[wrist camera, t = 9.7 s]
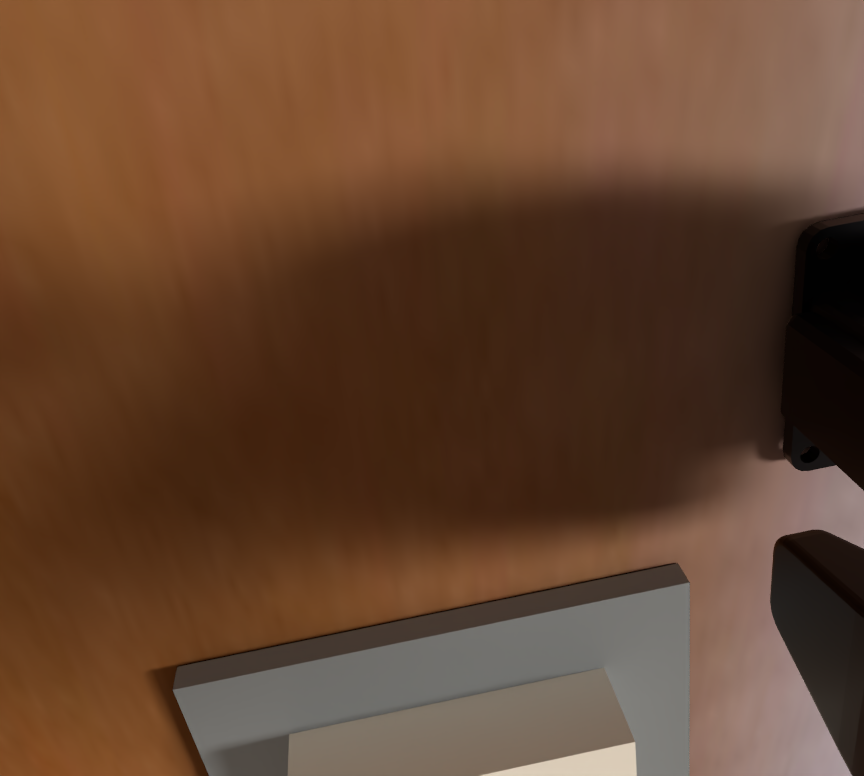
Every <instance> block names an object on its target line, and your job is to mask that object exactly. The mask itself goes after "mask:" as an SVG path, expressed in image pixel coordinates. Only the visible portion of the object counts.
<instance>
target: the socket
mask: <svg viewBox="0 0 864 776" xmlns="http://www.w3.org/2000/svg"><path fill="white" fill-rule="evenodd" d="M689 683H690V582H689V581H688V579H687V577H686V576H685V574H684V572H683V571H682V569H681V568H680V566H679V564H678V563H677V564H673V565H668V566H663V567H658V568H653V569H648V570H644V571H639V572H634V573H629V574H624V575H619V576H615V577H610V578H605V579H600V580H595V581H590V582H586V583H581V584H576V585H571V586H566V587H561V588H556V589H552V590H547V591H542V592H537V593H532V594H527V595H523V596H518V597H513V598H508V599H503V600H498V601H494V602H489V603H484V604H479V605H474V606H469V607H465V608H460V609H455V610H450V611H445V612H440V613H436V614H431V615H426V616H421V617H416V618H411V619H407V620H402V621H397V622H392V623H387V624H382V625H378V626H373V627H368V628H363V629H358V630H353V631H348V632H344V633H339V634H334V635H329V636H324V637H319V638H315V639H310V640H305V641H300V642H295V643H290V644H286V645H281V646H276V647H271V648H266V649H261V650H257V651H252V652H247V653H242V654H237V655H232V656H228V657H223V658H218V659H213V660H208V661H203V662H199V663H194V664H189V665H184V666H179V667H177V671H176V676H175V680H174V685H173V692H174V695H175V697H176V699H177V702H178V704H179V706H180V709H181V711H182V713H183V716H184V718H185V720H186V723H187V725H188V727H189V730H190V732H191V734H192V737H193V739H194V741H195V744H196V746H197V748H198V751H199V753H200V756H201V758H202V760H203V763H204V765H205V767H206V770H207V772H208V774H209V776H689Z"/></svg>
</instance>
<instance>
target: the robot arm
mask: <svg viewBox="0 0 864 776" xmlns="http://www.w3.org/2000/svg"><path fill="white" fill-rule="evenodd" d="M826 238H828V244H827V247H826V248H825V249H824V250H823V251H822V252H820V253H818V254H817V251H816V250H817V247H818V245H819V243H820V242H821V241H822V240H823V239H826ZM781 413H782V415H783V416H784V417H785V428H784V443H783V453H784V457H785V458H786V459H787V460H788V461H789V462H790V463H791V464H792V465H793V466H794V467H795V468H796V469H798V470H800V471H810V470H815V469H820V468H825V467H830V466H834V465H837V466H838V467H839V468H840V469H841V470H842V471H843V472H844V473H845V474H847V475H848V476H849V477H850V478H851V479H852V480H853V481H854V482H855V483H856V484H857V485H858V486H859V487H861V488H862V489H863V490H864V214H859V215H854V216H848V217H843V218H838V219H832V220H827V221H822V222H818V223H815V224H813V225H811V226H809V227H808V228H807V229H806V230H804V231H803V233H802V235H801V236H800V238H799V240H798V243H797V247H796V262H795V277H794V292H793V307H792V317H791V318H790V320H789V322H788V324H787V326H786V336H785V352H784V368H783V384H782V400H781ZM809 446H810V449H809V450H808V451H807V452H806V453H804V454H802V455H801V453H802V451H803V450H804V449H805V448H807V447H809ZM770 603H771V610H772V615H773V618H774V621H775V624H776V626H777V628H778V630H779V632H780V634H781V636H782V638H783V640H784V642H785V644H786V646H787V648H788V650H789V652H790V654H791V656H792V658H793V660H794V662H795V664H796V666H797V668H798V670H799V672H800V674H801V676H802V678H803V680H804V682H805V684H806V686H807V688H808V690H809V692H810V694H811V696H812V698H813V700H814V702H815V704H816V706H817V708H818V710H819V712H820V714H821V716H822V718H823V720H824V722H825V724H826V726H827V728H828V730H829V732H830V734H831V736H832V738H833V740H834V742H835V744H836V746H837V748H838V750H839V752H840V754H841V756H842V757H843V759H844V761H845V763H846V765H847V767H848V769H849V771H850V773H851V774H852V776H864V549H863V548H861V547H858V546H856V545H854V544H852V543H850V542H848V541H846V540H843V539H841V538H839V537H837V536H835V535H833V534H831V533H828V532H826V531H823V530H809V531H805V532H800V533H795V534H790V535H785V536H782V537H781V538H779V539H778V540H777V541H776V543H775V546H774V551H773V566H772V581H771V597H770Z"/></svg>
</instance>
